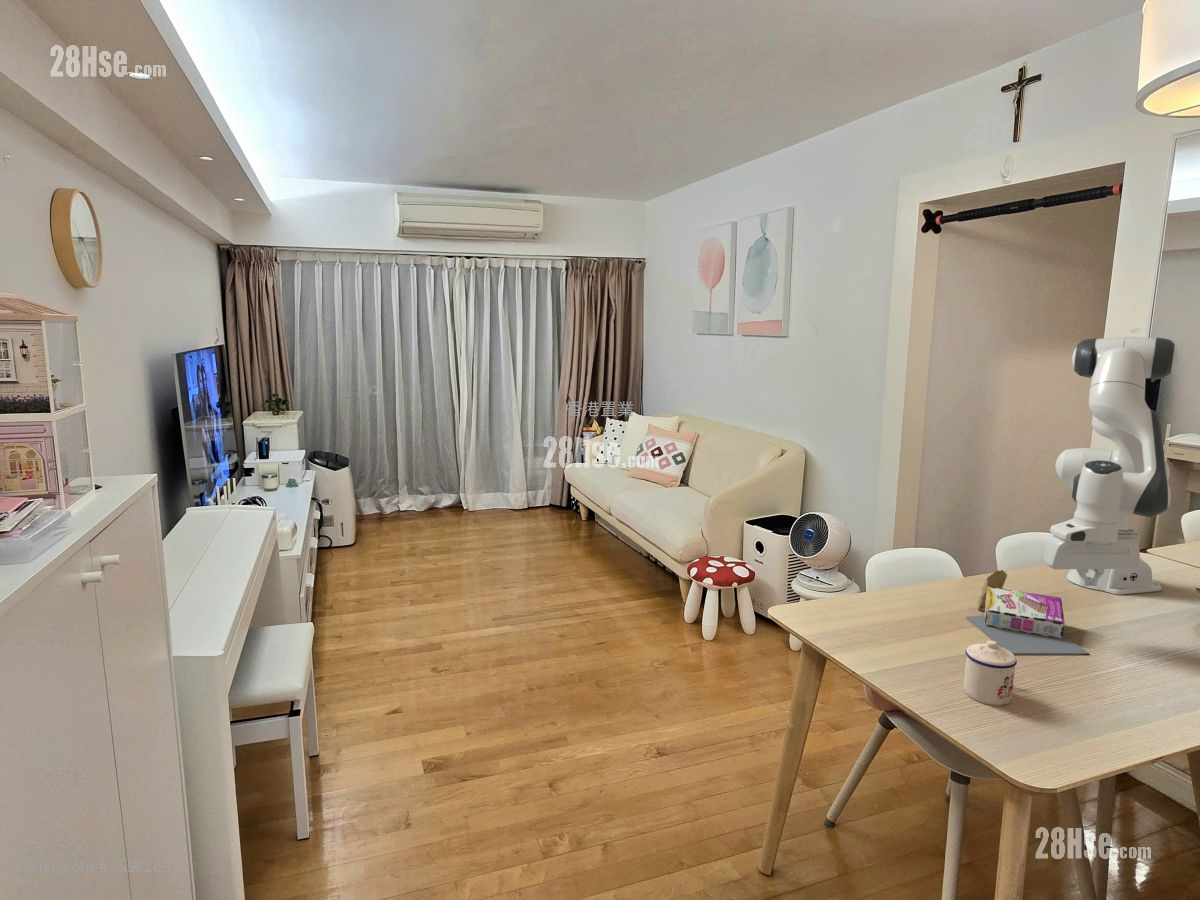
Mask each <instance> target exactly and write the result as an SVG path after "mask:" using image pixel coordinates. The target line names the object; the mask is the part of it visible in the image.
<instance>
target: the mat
mask: <svg viewBox="0 0 1200 900" xmlns="http://www.w3.org/2000/svg"><path fill="white" fill-rule="evenodd" d="M965 618H966V619H967V620H968V621H969V622H970V623H971V622H972V624H973V625H974V626H975V627H976V628H977V629H978V630H980V631H981V632H982V633H983V634H984V635H986V637H988V638H989V639H990V640H993V641H995V642H997V644H998V646H1000V647H1002V648H1004V649H1006V650H1008V651H1010V652H1011V653H1013V654H1014V656H1019V655H1020V656H1051V655H1052V656H1076V655H1078V656H1085V655H1084V654H1089V655H1090V652H1088V651H1087V650H1086V649H1084V648H1083V647H1081V646H1080V645H1079V644H1077V643H1076V642H1075V641H1073V640H1071V638H1069V637H1067V636H1066V635H1065V634H1063V638H1062V639H1060V638H1055V637H1049V636H1043V635H1037V634H1032V633H1026V632H1020V631H1014V630H1009V629H1003V628H997V627H991V626H985V615H982V616H981V615H979V616H977V615H975V616H972V615H971V616H970V615H969V616H967V615H966V616H965ZM1069 654H1070V655H1069ZM1080 654H1082V655H1080Z"/></svg>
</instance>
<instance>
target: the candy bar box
mask: <svg viewBox="0 0 1200 900" xmlns="http://www.w3.org/2000/svg"><path fill="white" fill-rule="evenodd" d="M984 616H985V626H991V627H997V628H1003V629H1009V630H1014V631H1020V632H1026V633H1032V634H1037V635H1043V636H1049V637H1055V638H1060V639H1062V638H1063V635H1064V631H1065V625H1066V624H1065V623H1066V622H1065V617H1064V610H1063V602H1062V597H1058V596H1052V595H1044V594H1039V593H1031V592H1025V591H1019V590H1013V589H1012V590H1011V589H1005V588H1004V589H1003V588H1002V589H999V588H993V587H987V592H986V604H985V612H984Z"/></svg>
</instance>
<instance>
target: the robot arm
mask: <svg viewBox="0 0 1200 900" xmlns="http://www.w3.org/2000/svg"><path fill="white" fill-rule="evenodd" d="M1178 356H1179V353H1178V350H1177V347H1176V346H1175V343H1174V341H1172V340H1171V339H1168V338H1163V337H1156V338H1153V337H1143V336H1124V337H1123V336H1122V337H1107V338H1103V337H1102V338H1097V339H1096V337H1093V338H1087V339H1086V338H1085V339H1082V340H1081V341H1080V342H1078V343H1077V344H1076V347H1075V348H1074V350H1073V353H1072V356H1071V365H1072V367H1073V369H1074V372H1075V373H1076V374H1077V376H1079V377H1083V378H1088V379H1089V378H1091V382H1090V387H1089V392H1088V393H1089V394H1088V408H1089V411H1090V413H1091V414H1092V418H1091V426H1092V429H1093V431H1095V432H1096V433H1097V434H1099V435H1100V436H1102V437H1104V438H1105V439H1108V440H1110V441H1111V442H1113V443H1114V444H1115V446H1116V449H1105V448H1104V449H1102V448H1092V447H1077V448H1076V447H1074V448H1066V449H1064V450H1063V451H1061V453H1060V454H1059V455H1058V457H1057V458H1056V460H1055V465H1054V466H1055V471H1056V472H1055V473H1056V474H1057V476H1058V478H1059V479H1060V480H1061V481H1062V482H1064V483H1065V484H1066V485H1067V486H1068V487H1069V488H1070V489H1071V490H1072V492H1071V493H1072V494H1071V498H1072V500H1073V501H1074V502H1075V503H1076V508H1075V509H1076V510H1075V511H1074V514H1073V518H1071V519H1068V520H1066V521H1063V522H1060V523H1056V524H1053V525H1051V526H1050V529H1049V532H1050V534H1052V535H1051V536H1049V538H1048V539H1047V542H1046V546H1045V549H1044V555H1043V558H1044V559H1043V561H1044V563H1045V565H1046V566H1048V567H1049V568H1051V569H1053V570H1068V572H1067V575H1066V579H1067V580H1068V581H1070V582H1071V583H1074V584H1076V585H1077V586H1081V587H1084V588H1088V589H1091V590H1096V591H1103V592H1106V593H1109V594H1110V593H1111V594H1113V595H1127V594H1128V595H1129V594H1139V593H1140V594H1141V593H1152V592H1160V591H1161V592H1162V589H1163V588H1162V585H1161V584H1159V583H1158V582H1157V581H1156V580H1154V579H1153V572H1152V570H1153V569H1152V567H1151V566H1150V565H1149V563H1147V562H1146V561H1145V560H1144V559H1142V558H1140V557H1141V553H1140V547H1141V545H1142V544H1141V542H1140V541H1141V536H1140V534H1139V533H1138V532H1137V531H1135V530H1134V529H1128V528H1129V527H1128V526H1129V518H1130V515H1129V514H1133V515H1137V516H1141V517H1146V518H1153V517H1155V516H1158V515H1160V514H1162V513H1164V512H1165V511H1167V510H1168V509H1169V507H1170V503H1171V499H1172V494H1171V493H1172V492H1171V487H1170V484H1169V479H1170V476H1171V474H1170V473H1171V471H1170V467H1169V464H1168V462H1167V461H1166V460H1165V450H1164V441H1163V440H1164V439H1163V434H1162V427H1161V420H1160V418H1159V415H1158V413H1157V411H1155V410H1153V409H1151V408H1150V407H1149V405H1148V404H1147V402H1146V379H1148V380H1149V379H1150V380H1151V383H1154V382H1155V381H1156V380H1160V379H1164V378H1166V377H1167V376H1169V375H1171V372H1172V371H1173V370H1174V369H1175V367H1176V365H1177V363H1178V358H1179V357H1178Z"/></svg>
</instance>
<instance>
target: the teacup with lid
mask: <svg viewBox="0 0 1200 900" xmlns="http://www.w3.org/2000/svg"><path fill="white" fill-rule="evenodd" d="M965 655H966V657H965V658H966V659H965V668H964V679H963V680H964V682H963V691H964V693H965V694H966V695H967V696H968V697H969V698H971V699H972V700H975V701H977V702H980V703H982V704H986V705H992V706H1004V705H1008V704H1009V703H1010V702H1011V701H1012V698H1013V690H1014V688H1013V687H1014V678H1015V669H1016V665H1017V662H1018V660H1017V657H1016V655H1014V654H1013V653H1011V652H1010V651H1008V650H1006V649H1004V648H1002V647H1000V646H998V644H997V642H995V641H993V640H991V639H990V640H989V639H988V640H987V641H986V643H985V642H984V643H974V644H970V645H968V647H967V648H966V649H965Z"/></svg>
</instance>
